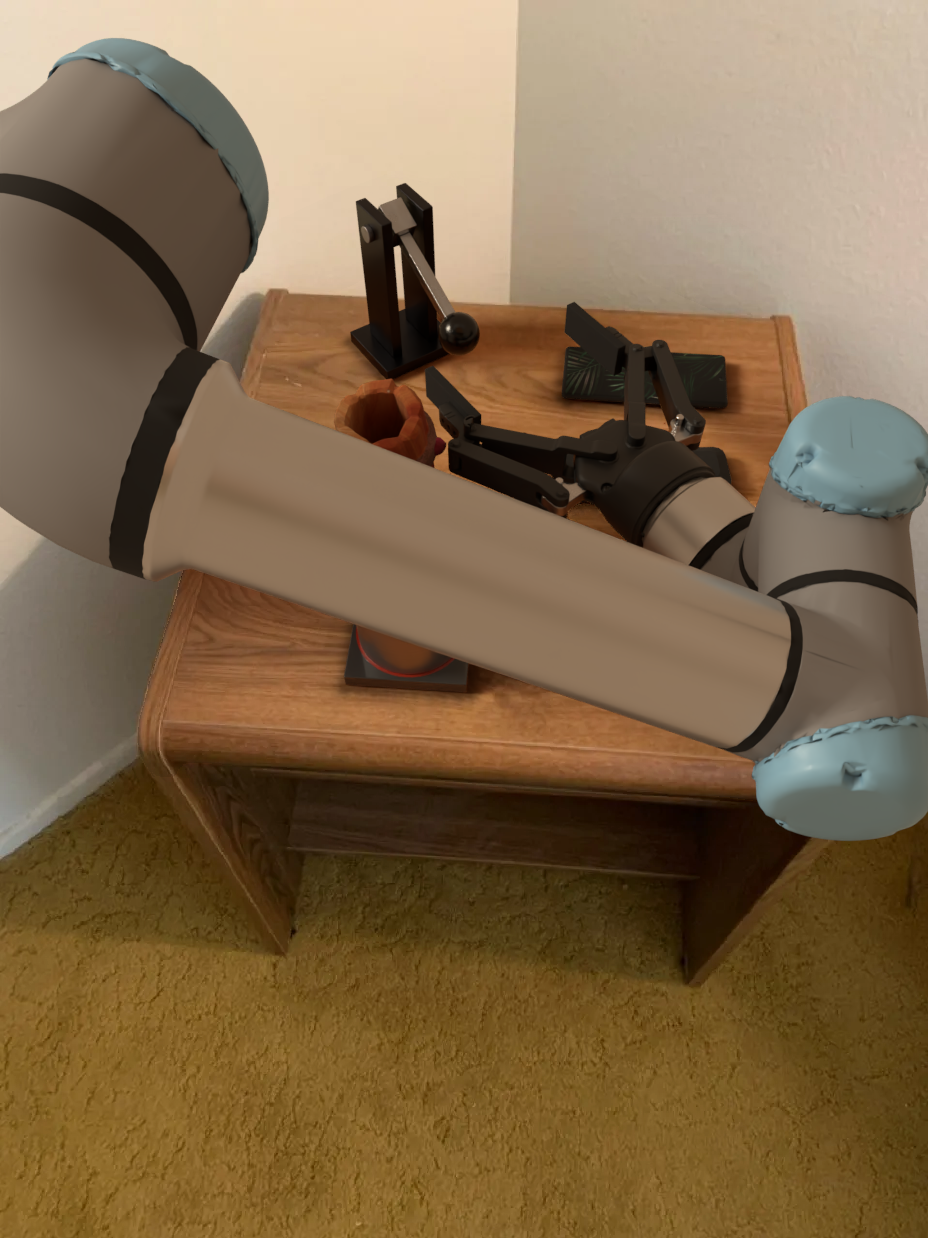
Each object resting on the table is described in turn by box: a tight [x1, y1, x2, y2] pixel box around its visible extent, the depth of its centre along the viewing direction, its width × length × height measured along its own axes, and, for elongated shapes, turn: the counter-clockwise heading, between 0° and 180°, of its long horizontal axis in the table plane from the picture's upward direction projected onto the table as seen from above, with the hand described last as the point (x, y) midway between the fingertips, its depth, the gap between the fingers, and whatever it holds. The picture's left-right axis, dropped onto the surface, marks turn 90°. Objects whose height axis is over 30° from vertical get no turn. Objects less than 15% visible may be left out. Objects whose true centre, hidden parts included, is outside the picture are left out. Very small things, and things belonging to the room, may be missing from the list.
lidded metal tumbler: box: [356, 625, 452, 674], centre depth 65 cm, size 8×8×12 cm
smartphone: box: [561, 345, 729, 410], centre depth 86 cm, size 7×1×15 cm
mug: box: [333, 378, 447, 468], centre depth 69 cm, size 15×8×15 cm, turn 146°
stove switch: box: [349, 182, 450, 380], centre depth 84 cm, size 7×8×15 cm
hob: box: [343, 624, 470, 693], centre depth 70 cm, size 9×9×1 cm
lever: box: [377, 197, 481, 357], centre depth 79 cm, size 14×4×4 cm, turn 34°
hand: (501, 347), depth 74 cm, fingers open, 13 cm apart
